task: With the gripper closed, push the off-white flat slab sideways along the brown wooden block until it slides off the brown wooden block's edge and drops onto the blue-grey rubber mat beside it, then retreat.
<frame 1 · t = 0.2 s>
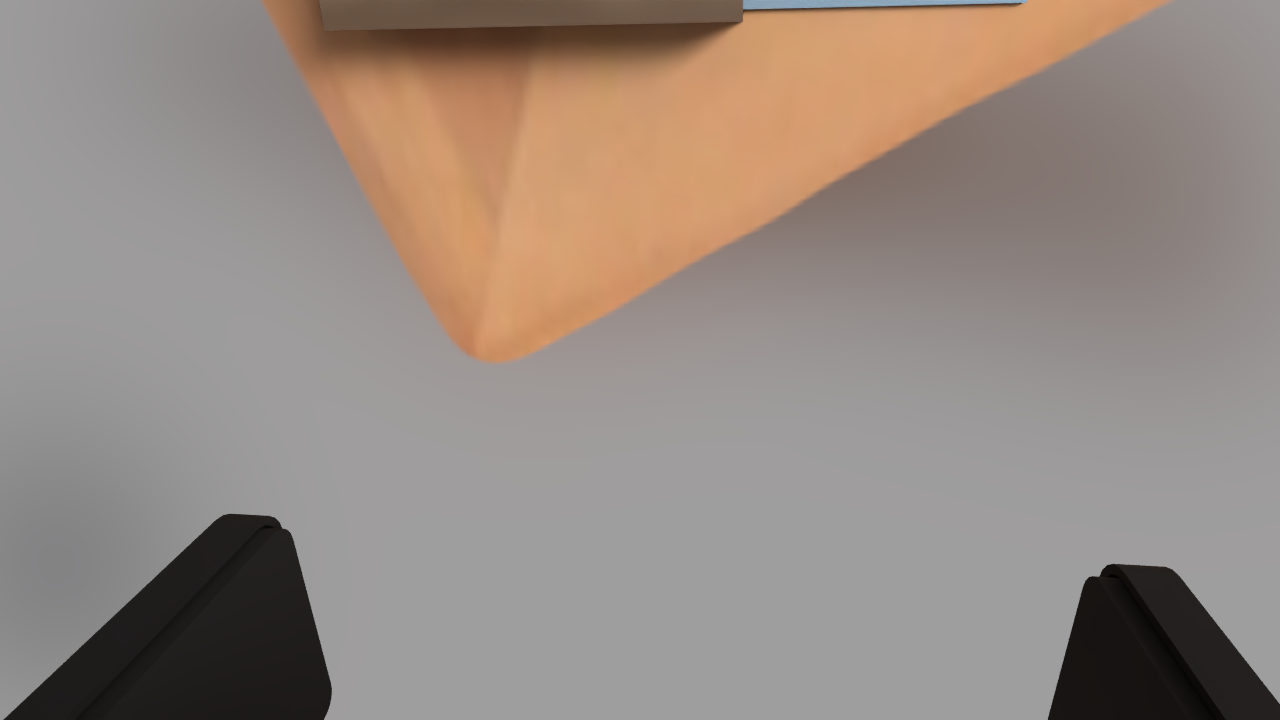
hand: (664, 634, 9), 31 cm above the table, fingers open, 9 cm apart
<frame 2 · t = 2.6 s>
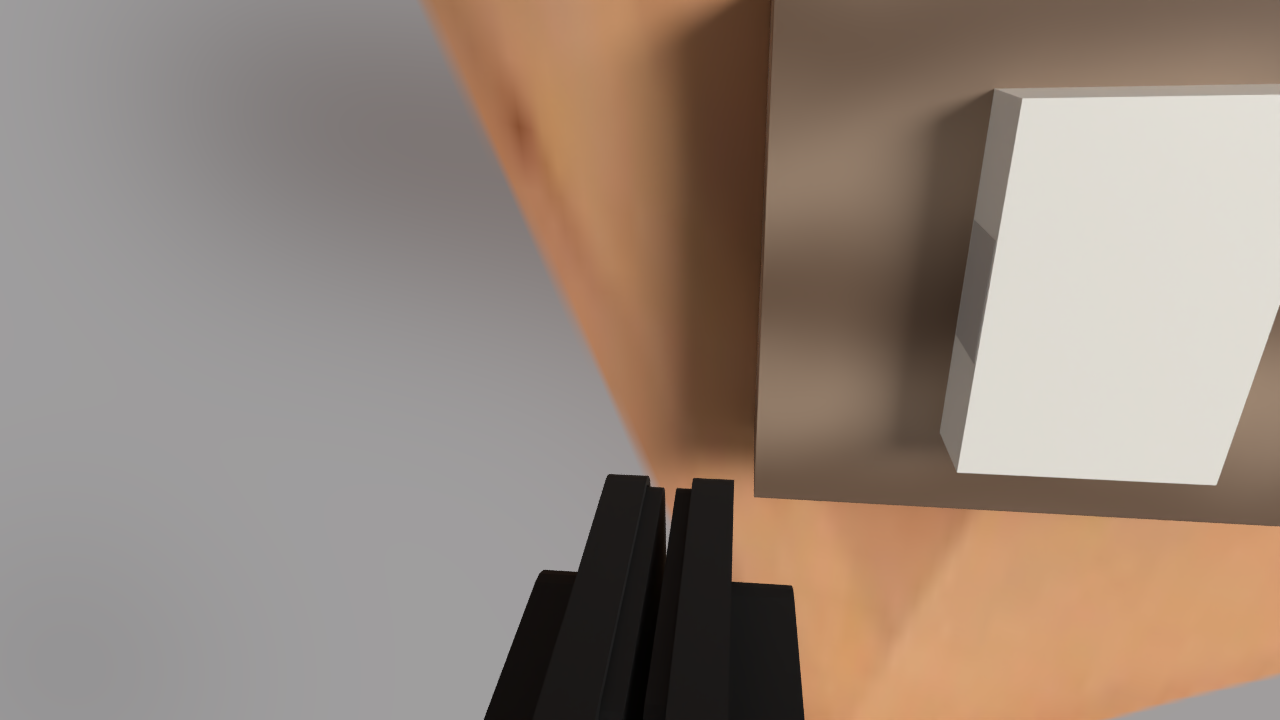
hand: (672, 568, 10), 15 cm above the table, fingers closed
off-white flat slab: (1109, 293, 18), point 5 cm above the table, touching brown wooden block
brown wooden block: (1073, 235, 22), on the table
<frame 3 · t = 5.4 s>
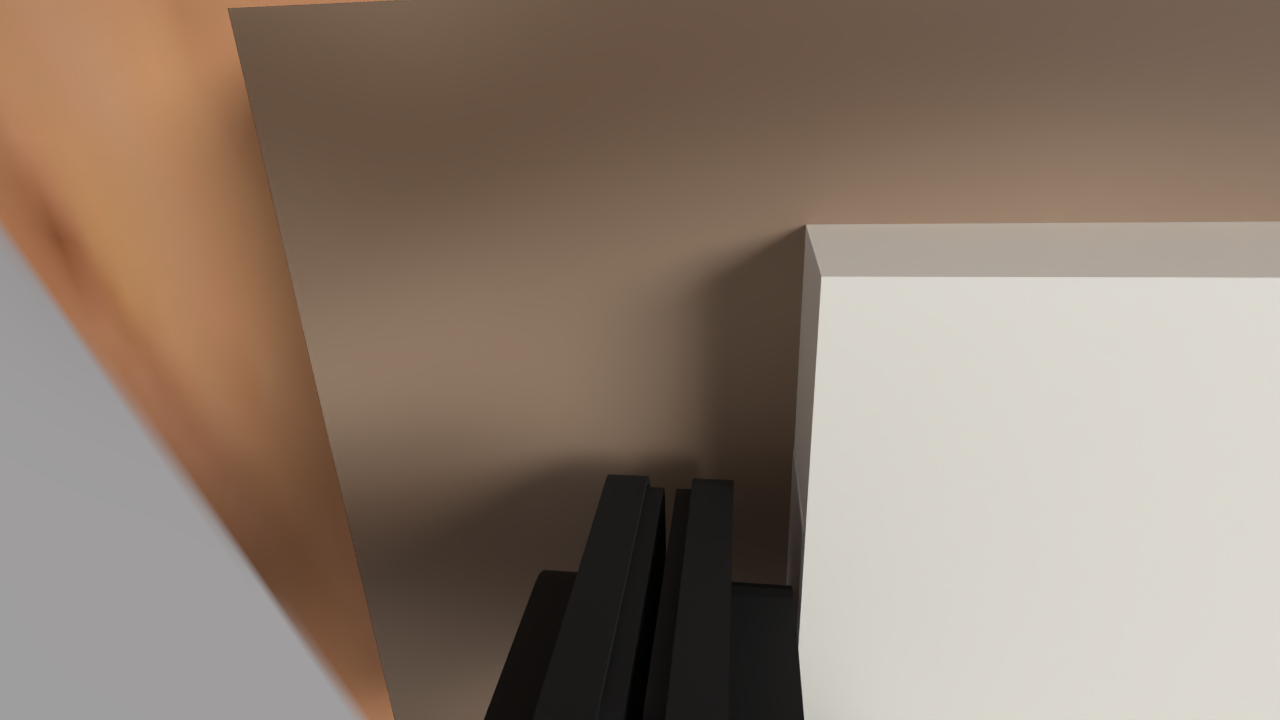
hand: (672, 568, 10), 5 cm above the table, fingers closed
off-white flat slab: (1038, 598, 9), point 5 cm above the table, touching brown wooden block, gripper
brown wooden block: (905, 406, 14), on the table
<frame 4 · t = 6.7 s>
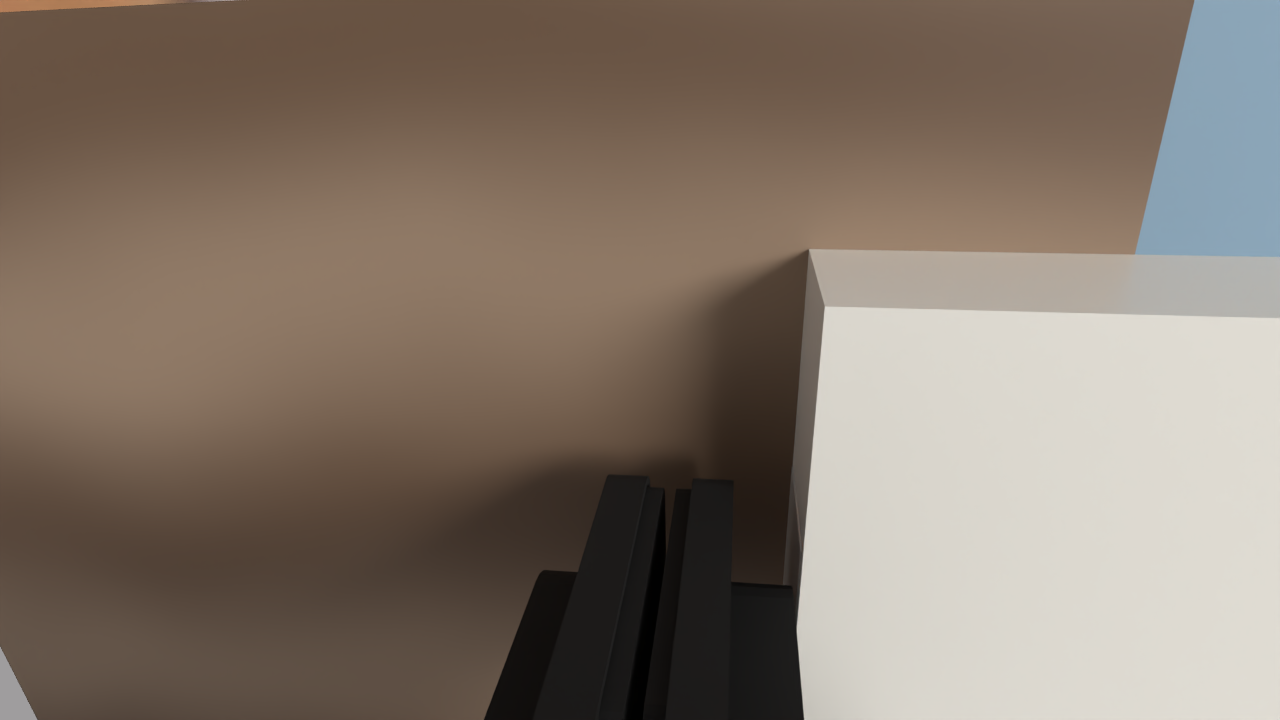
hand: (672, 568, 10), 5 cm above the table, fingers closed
off-white flat slab: (1028, 617, 10), point 5 cm above the table, touching gripper
brown wooden block: (508, 390, 15), on the table
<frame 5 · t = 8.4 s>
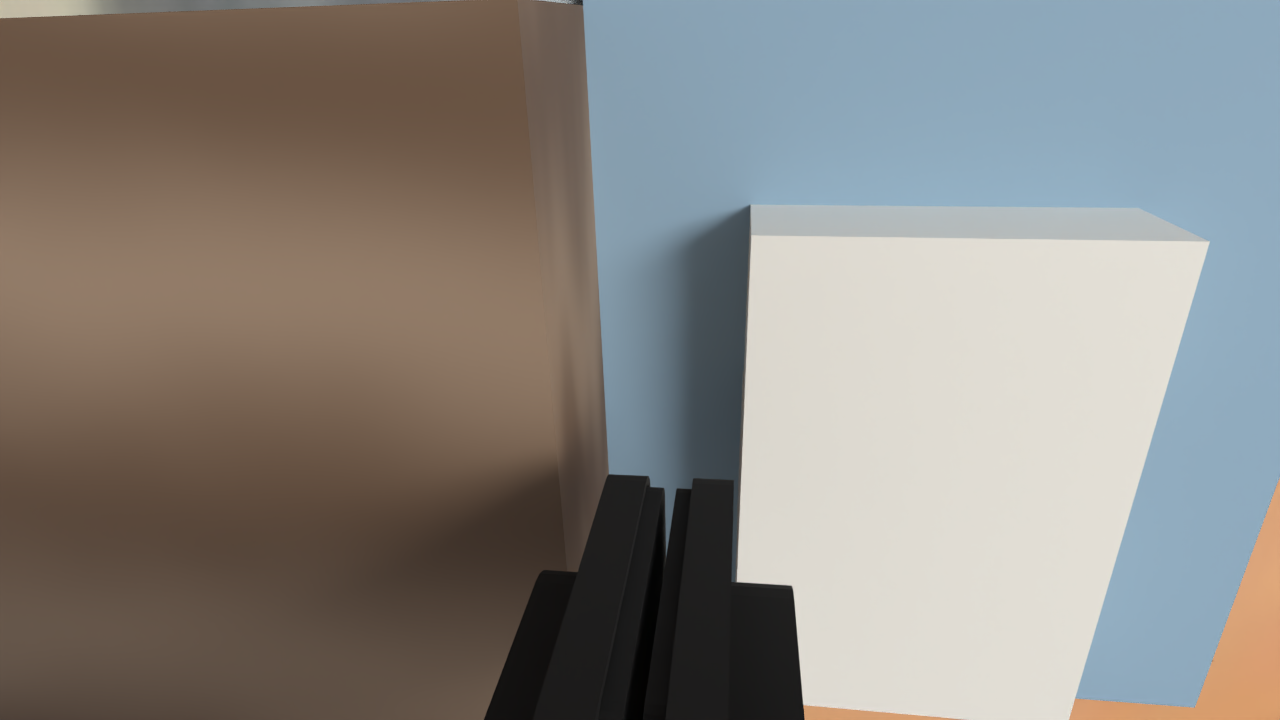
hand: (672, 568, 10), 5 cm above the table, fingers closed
mat: (931, 387, 14), on the table
off-white flat slab: (915, 477, 13), point 1 cm above the table, tilted 180°, touching mat
brown wooden block: (186, 388, 16), on the table
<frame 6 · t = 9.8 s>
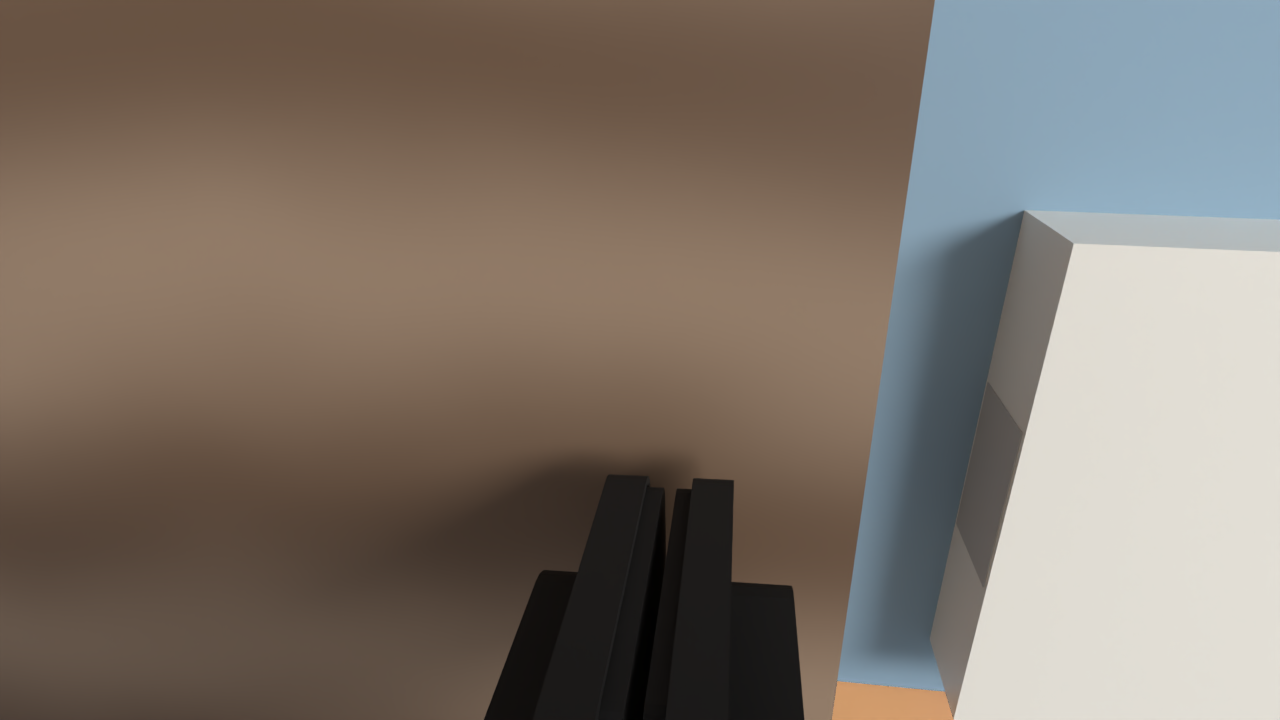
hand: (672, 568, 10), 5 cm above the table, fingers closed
mat: (1178, 404, 13), on the table
off-white flat slab: (1173, 497, 13), point 1 cm above the table, tilted 180°, touching mat
brown wooden block: (374, 383, 15), on the table
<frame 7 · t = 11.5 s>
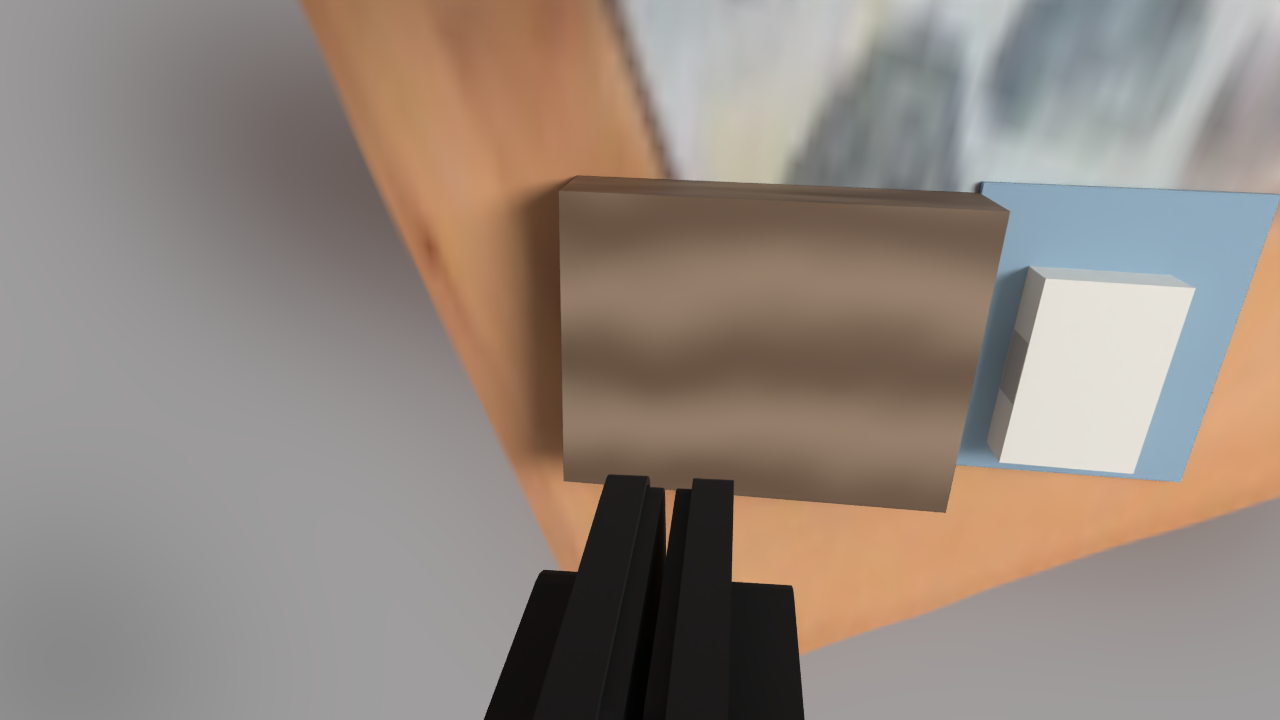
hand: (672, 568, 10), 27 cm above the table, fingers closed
mat: (1085, 339, 35), on the table
off-white flat slab: (1081, 371, 34), point 1 cm above the table, tilted 180°, touching mat
brown wooden block: (760, 329, 37), on the table
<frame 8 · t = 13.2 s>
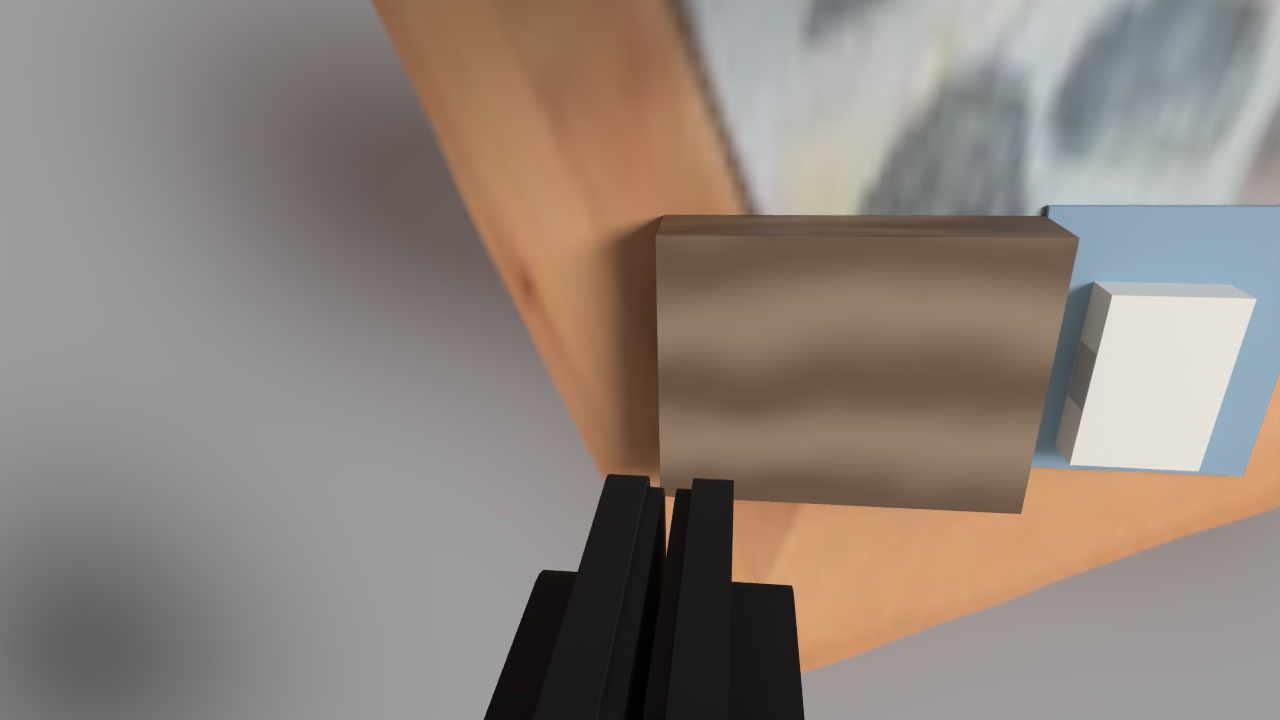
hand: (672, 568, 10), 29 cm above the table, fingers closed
mat: (1149, 346, 37), on the table
off-white flat slab: (1147, 377, 37), point 1 cm above the table, tilted 180°, touching mat
brown wooden block: (837, 348, 39), on the table
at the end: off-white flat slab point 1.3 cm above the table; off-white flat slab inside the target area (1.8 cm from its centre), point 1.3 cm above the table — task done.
